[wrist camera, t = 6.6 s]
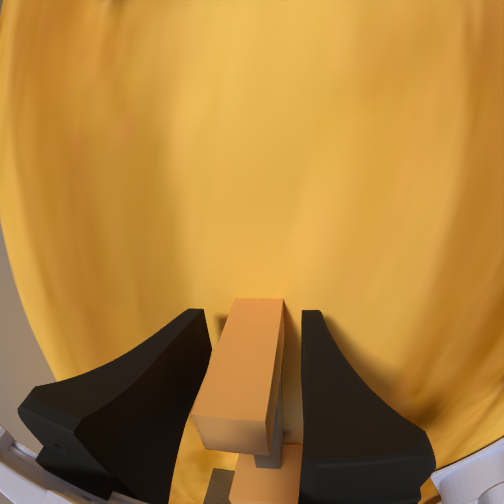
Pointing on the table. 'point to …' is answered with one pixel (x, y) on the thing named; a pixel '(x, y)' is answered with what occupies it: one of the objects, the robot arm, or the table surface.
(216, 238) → the table surface
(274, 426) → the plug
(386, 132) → the table surface
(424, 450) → the robot arm
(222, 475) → the housing
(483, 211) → the table surface
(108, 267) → the table surface
